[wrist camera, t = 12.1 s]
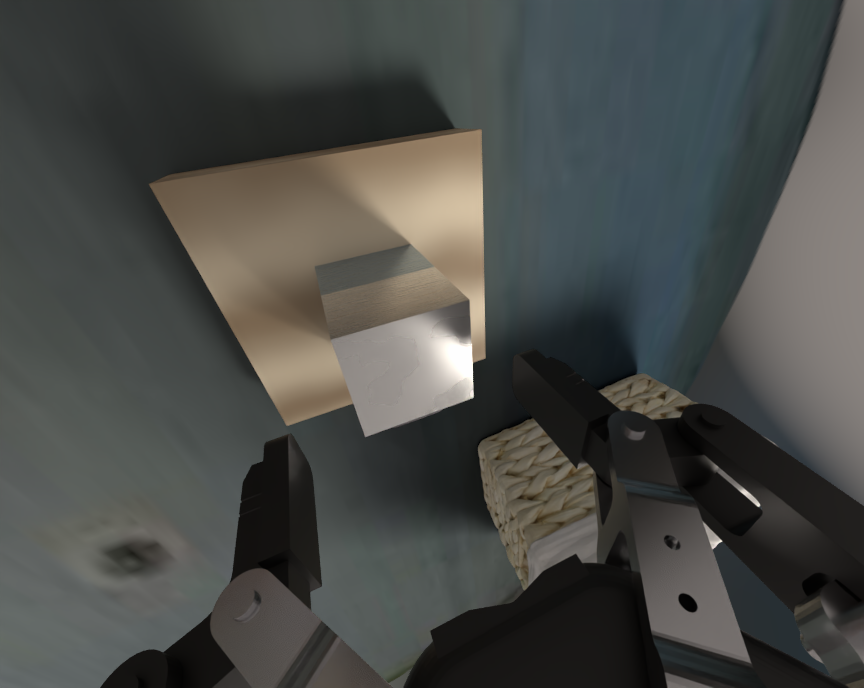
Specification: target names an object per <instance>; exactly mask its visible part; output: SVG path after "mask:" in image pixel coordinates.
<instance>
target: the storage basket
mask: <svg viewBox="0 0 864 688" xmlns="http://www.w3.org/2000/svg"><path fill="white" fill-rule="evenodd" d="M599 392H600V393H601V394H602V395H603V396H605V397H606V398H607V399H608V400H609V401H611V402H612V403H613V404H614V405H615V406H616V407H618V408H619V409H620V410H622V411H623V410H628V411H635V412H638V413H641V414H643V415H645V416H647V417H649V418H650V419H652V420H654V419H666V418H677V417H681V414H682V412H683V410H684V409H685V408H686V407H687V406H689V405H692V404H698V403H696V402H692V401H691V400H689V399H688V398H687V397H685V396H684V395H682V394H680V393H679V392H678V391H676V390H674V389H671V388H669V387H668V386H667V385H665V384H662V383H660V382H658V381H657V380H655V379H653V378H651V377H650V376H648V375H647V374H643V373H641V374H637V375H634V376H631V377H628V378H625V379H623V380H620V381H618V382H616V383H614V384H613V385H609V386H606V387H605V388H604V389H601V390H599ZM763 437H764V436H763ZM764 438H765V437H764ZM766 439H767V438H766ZM767 440H768V439H767ZM769 441H770V440H769ZM770 442H772V441H770ZM772 443H773V442H772ZM773 444H775V443H773ZM775 445H776V444H775ZM777 447H778V446H777ZM478 455H479V458H480V468H481V478H482V481H483V489H484V498H485V501H486V504H487V508H488V510H489V511H490V515H491V517H492V519H493V522H494V524H495V526H496V527H497V528H498V529H499V530H498V531H499V534H500V539H501V541H502V543H503V544H504V545H505V546H506V550H507V556H508V558H509V560H510V562H511V564H512V565H513V567H515V568H516V570H515V571H516V573H517V576H518V578H519V579H520V580H521V584H522V587H523V589H524V591H525V590H526V589H527V588H528V586H529V585H530V584H531V583H532V582H533V581H534V580H535V579H536V578H537V577H538V576H539V575H540V574H541V573H542V571H544V570H546V569H548V568H549V567H551V566H553V565H555V564H557V563H559V562H561V561H563V560H564V559H566V558H568V557H570V556H572V555H574V554H577V556H578V557H579V559H580V560H581V562H582V563H597V540H598V525H597V515H596V505H595V495H594V485H593V469H592V468H591V467H590V466H589V465H586V466H584V467H581V468H579V469H576V468H575V466H574V465H573V464H572V463H571V462H570V461H569V459H568V458H567V457H566V456H565V455H564V454H563V452H562V451H561V450H560V449H559V448H558V447H557V445H556V444H555V443H554V442H553V441H552V440H551V438H550V437H549V436H548V435H547V434H546V433H545V431H544V430H543V429H542V428H541V427H540V426H539V424H538V423H537V422H536V421H535V420H534V419H533V418H532V419H531V420H526V421H524V423H522V424H520V425H517V426H515V427H512V428H510V429H505V430H503V431H502V432H500V433H498V434H495V435H493V436H490V437H488V438H486V439H484V440H482V441H481V442H480V444H479V446H478ZM717 472H718V473H719V474H720V475H721V476H723V477H724V478H725V479H726V480H727V481H728V482H730V483H731V484H732V485H733V486H734V487H735V488H737V489H738V490H739V491H740V492H741V493H742V494H744V495H745V496H746V497H747V498H748V499H750V500H751V501H752V502H753V503H754V504H755V505H757V506H758V507H759V506H760V504H759V502H758V501H757V500H756V499H755V498H754V497H753V496H752V495H751V494H750V493H749V492H748V491H746V490H745V489H744V488H743V487H742V486H740V485H739V484H738V483H737V482H736V481H734V480H733V479H732V478H731V477H730V476H728V475H727V474H726V473H725V472H724V471H723V470H721V469H720V468H719V469H718V471H717ZM703 524H704V527H705V530H706V533H707V536H708V539H709V542H710V544H711V547H712V549H713V548H715V547H716V546H717V544H718V543H719V542H723V541H722V540H721V539H720V538H719V537H718V536H717V535H716V534H715V533H714V532H713V531H712V530H711V529H710V528H709V527H708V526H707V525H706V524H705V523H704V522H703Z"/></svg>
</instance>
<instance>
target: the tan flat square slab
mask: <svg viewBox="0 0 864 688" xmlns="http://www.w3.org/2000/svg"><path fill="white" fill-rule="evenodd" d="M149 185H150V187H151V189H152V191H153V192H154V194H155V196H156V198H157V199H158V201H159V203H160V205H161V206H162V208H163V210H164V212H165V213H166V215H167V217H168V219H169V220H170V222H171V224H172V226H173V227H174V229H175V231H176V233H177V234H178V236H179V238H180V240H181V241H182V243H183V245H184V247H185V248H186V250H187V252H188V254H189V255H190V257H191V259H192V261H193V262H194V264H195V266H196V268H197V269H198V271H199V273H200V275H201V276H202V278H203V280H204V282H205V283H206V285H207V287H208V289H209V290H210V292H211V294H212V296H213V297H214V299H215V301H216V303H217V304H218V306H219V308H220V310H221V311H222V313H223V315H224V317H225V318H226V320H227V322H228V324H229V325H230V327H231V329H232V331H233V332H234V334H235V336H236V338H237V339H238V341H239V343H240V345H241V346H242V348H243V350H244V352H245V353H246V355H247V357H248V359H249V360H250V362H251V364H252V366H253V367H254V369H255V371H256V373H257V374H258V376H259V378H260V380H261V381H262V383H263V385H264V387H265V388H266V390H267V392H268V394H269V395H270V397H271V399H272V401H273V402H274V404H275V406H276V408H277V409H278V411H279V413H280V415H281V416H282V418H283V420H284V422H285V423H286V425H287V426H288V425H291V424H294V423H297V422H300V421H303V420H306V419H309V418H312V417H315V416H318V415H321V414H324V413H327V412H330V411H333V410H335V409H338V408H341V407H344V406H347V405H350V404H353V401H352V398H351V396H350V393H349V390H348V387H347V384H346V381H345V379H344V376H343V373H342V370H341V367H340V365H339V362H338V359H337V356H336V353H335V351H334V348H333V345H332V342H331V339H330V335H329V330H328V326H327V321H326V316H325V312H324V307H323V303H322V298H321V294H320V289H319V284H318V280H317V275H316V271H315V266H318V265H323V264H327V263H331V262H336V261H340V260H344V259H348V258H353V257H357V256H361V255H366V254H370V253H374V252H378V251H383V250H387V249H391V248H396V247H400V246H404V245H408V244H411V245H412V246H413V247H414V248H416V249H417V250H418V251H419V252H420V253H421V254H422V255H423V256H424V257H425V258H426V259H427V260H428V261H429V262H430V263H431V264H432V265H433V266H434V267H436V268H437V269H438V270H439V271H440V272H441V273H442V274H443V275H444V276H445V277H446V278H447V279H448V280H449V281H450V282H451V283H452V284H453V285H454V286H455V287H457V288H458V289H459V290H460V291H461V292H462V293H463V294H464V295H465V296H466V297H467V298H468V299H469V300H470V321H471V344H472V363H474V362H476V361H479V360H482V359H485V301H484V244H483V187H482V131H481V129H449V130H443V131H437V132H431V133H424V134H418V135H412V136H406V137H399V138H393V139H387V140H381V141H374V142H368V143H362V144H356V145H350V146H343V147H337V148H331V149H325V150H318V151H312V152H306V153H300V154H293V155H287V156H281V157H275V158H268V159H262V160H256V161H250V162H244V163H237V164H231V165H225V166H219V167H212V168H206V169H200V170H194V171H187V172H181V173H175V174H170V175H167V176H165V177H163V178H161V179H159V180H157V181H154V182H152V183H150V184H149Z"/></svg>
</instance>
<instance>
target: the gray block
mask: <svg viewBox="0 0 864 688" xmlns="http://www.w3.org/2000/svg"><path fill="white" fill-rule="evenodd" d="M315 271H316V275H317V280H318V284H319V289H320V294H321V298H322V303H323V307H324V312H325V316H326V321H327V326H328V330H329V335H330V339H331V342H332V345H333V348H334V351H335V353H336V356H337V359H338V362H339V365H340V367H341V370H342V373H343V376H344V379H345V381H346V384H347V387H348V390H349V393H350V396H351V398H352V401H353V404H354V407H355V410H356V412H357V415H358V418H359V421H360V424H361V426H362V429H363V432H364V435H365V437H367V436H370V435H373V434H375V433H378V432H381V431H384V430H386V429H389V428H392V427H394V428H397V427H399V426H402V425H405V424H408V423H410V422H413V421H416V420H419V419H421V418H424V417H427V416H430V415H432V414H435V413H438V412H441V409H444V408H447V407H450V406H452V405H455V404H458V403H461V402H463V401H466V400H469V399H472V398H474V391H473V367H472V344H471V321H470V300H469V299H468V298H467V297H466V296H465V295H464V294H463V293H462V292H461V291H460V290H459V289H458V288H457V287H455V286H454V285H453V284H452V283H451V282H450V281H449V280H448V279H447V278H446V277H445V276H444V275H443V274H442V273H441V272H440V271H439V270H438V269H437V268H436V267H434V266H433V265H432V264H431V263H430V262H429V261H428V260H427V259H426V258H425V257H424V256H423V255H422V254H421V253H420V252H419V251H418V250H417V249H416V248H414V247H413V246H412V245H411V244H408V245H404V246H400V247H396V248H391V249H387V250H383V251H378V252H374V253H370V254H366V255H361V256H357V257H353V258H348V259H344V260H340V261H336V262H331V263H327V264H323V265H318V266H315Z"/></svg>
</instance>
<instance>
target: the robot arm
mask: <svg viewBox="0 0 864 688" xmlns="http://www.w3.org/2000/svg"><path fill="white" fill-rule="evenodd" d="M512 388H513V392H514V394H515V396H516V398H517V400H518V401H519V402H520V403H521V405H522V406H523V407H524V408H525V409H526V410H527V412H528V413H529V414H530V415H531V416H532V417H533V419H534V420H535V421H536V422H537V423H538V424H539V426H540V427H541V428H542V429H543V430H544V431H545V433H546V434H547V435H548V436H549V437H550V438H551V440H552V441H553V442H554V443H555V444H556V445H557V447H558V448H559V449H560V450H561V451H562V452H563V454H564V455H565V456H566V457H567V458H568V459H569V461H570V462H571V463H572V464H573V465H574V466H575V468H576V469H579V468H581V467H584V466H586V465H589V466H590V467H591V468H592V469H593V485H594V495H595V505H596V515H597V525H598V540H597V563H582V562H581V560H580V559H579V557H578V556H577V554H574V555H572V556H570V557H568V558H566V559H564V560H563V561H561V562H559V563H557V564H555V565H553V566H551V567H549V568H548V569H546V570H544V571H542V573H541V574H540V575H539V576H538V577H537V578H536V579H535V580H534V581H533V582H532V583H531V584H530V585H529V586H528V588H527V589H526V590H525V591H524V592H523V593H522V594H521V595H520V596H519V597H518V598H517V599H516V600H515V601H514V602H512V603H509V604H503V605H497V606H491V607H485V608H479V609H473V610H469V611H467V612H465V613H463V614H461V615H459V616H457V617H455V618H454V619H452V620H450V621H448V622H446V623H444V624H442V625H440V626H439V627H437V628H435V629H433V630H431V631H430V632H431V635H432V639H433V642H432V643H431V644H430V645H429V646H428V647H427V648H426V649H425V650H424V652H423V653H422V654H421V656H420V657H419V658H418V660H417V661H416V663H415V665H414V667H413V668H412V670H411V672H410V674H409V676H408V678H407V681H406V683H405V685H404V688H864V506H863V505H861V504H860V503H859V502H857V501H856V500H854V499H853V498H851V497H850V496H848V495H847V494H845V493H844V492H843V491H841V490H840V489H838V488H837V487H835V486H834V485H832V484H831V483H830V482H828V481H827V480H825V479H824V478H822V477H821V476H819V475H818V474H816V473H815V472H814V471H812V470H811V469H809V468H808V467H806V466H805V465H803V464H802V463H800V462H799V461H798V460H796V459H795V458H793V457H792V456H790V455H789V454H787V453H786V452H785V451H783V450H781V449H780V448H779V447H777V446H776V445H775V444H773V443H772V442H770V441H769V440H767V439H766V438H764V437H763V436H761V435H760V434H759V433H757V432H756V431H754V430H753V429H751V428H750V427H748V426H747V425H746V424H744V423H743V422H741V421H740V420H738V419H737V418H735V417H734V416H733V415H731V414H729V413H728V412H726V411H724V410H722V409H720V408H718V407H715V406H712V405H707V404H692V405H689V406H687V407H686V408H685V409H684V410H683V412H682V414H681V417H677V418H666V419H654V420H652V419H650V418H649V417H647V416H645V415H643V414H641V413H638V412H635V411H628V410H623V411H622V410H620V409H619V408H618V407H616V406H615V405H614V404H613V403H612V402H611V401H609V400H608V399H607V398H606V397H605V396H603V395H602V394H601V393H600V392H599V391H597V390H596V389H595V388H594V387H593V386H591V385H590V384H589V383H588V382H587V381H586V382H585V381H584V379H583V378H582V377H581V376H580V375H578V374H576V372H575V371H574V370H572V369H571V368H570V367H569V366H568V365H566V364H565V363H563V362H561V361H559V360H556V359H554V358H552V357H550V358H547V359H546V358H545V357H544V356H543V355H542V354H541V353H540V352H538V351H537V350H536V349H531V350H528V351H525V352H522V353H520V354H517V355H515V356H514V357H513V375H512ZM719 468H720V469H721V470H723V471H724V472H725V473H726V474H727V475H728V476H730V477H731V478H732V479H733V480H734V481H736V482H737V483H738V484H739V485H740V486H742V487H743V488H744V489H745V490H746V491H748V492H749V493H750V494H751V495H752V496H753V497H754V498H755V499H756V500H757V501H758V502H759V504H760V505H761V507H762V510H761V509H760V508H759V507H758V506H757V505H755V504H754V503H753V502H752V501H751V500H750V499H748V498H747V497H746V496H745V495H744V494H742V493H741V492H740V491H739V490H738V489H737V488H735V487H734V486H733V485H732V484H731V483H730V482H728V481H727V480H726V479H725V478H724V477H723V476H721V475H720V474H719V473H718V472H717V471H718V469H719ZM241 501H242V503H240V512H239V514H240V517H239V521H238V529H237V538H236V547H235V555H234V564H233V572H232V578H231V581H230V584H229V585H228V586H227V587H226V588H225V589H224V591H223V592H222V593H221V595H220V596H219V598H218V600H217V602H216V604H215V606H214V609H213V611H212V612H211V613H210V614H209V615H208V617H207V618H205V619H204V620H203V621H202V622H201V623H200V624H198V625H197V626H196V627H195V628H193V629H192V630H191V631H190V632H188V633H187V634H186V635H185V636H183V637H182V638H181V639H179V640H178V641H177V642H176V643H174V644H173V645H172V646H171V647H169V648H168V649H167V650H166V651H164V652H161V651H158V650H146V651H142V652H140V653H137V654H136V655H134V656H132V657H130V658H129V659H128V660H126V661H125V662H124V663H122V664H121V665H120V666H119V667H118V668H117V669H116V670H115V671H114V672H113V673H112V674H111V675H110V676H109V677H108V678H107V680H106V681H105V682H104V683H103V685H102V686H101V687H100V688H393V687H391V685H389V684H388V683H387V682H386V681H385V680H384V679H383V678H382V677H381V676H380V675H379V674H378V673H377V672H376V671H375V670H374V669H373V668H371V667H370V666H369V665H368V664H367V663H366V662H365V661H364V660H363V659H362V658H361V657H360V656H359V655H358V654H357V653H356V652H355V651H353V650H352V649H351V648H350V647H349V646H348V645H347V644H346V643H345V642H344V641H343V640H342V639H341V638H340V637H339V636H338V635H336V634H335V633H334V632H333V631H332V630H331V629H330V628H329V627H328V626H327V625H326V624H325V623H324V622H322V621H321V620H320V619H319V618H318V617H317V616H316V615H315V614H314V613H313V612H312V611H311V600H310V592H311V591H313V590H315V589H317V588H319V587H322V580H321V568H320V556H319V544H318V532H317V520H316V508H315V496H314V484H313V476H312V472H311V468H310V465H309V463H308V461H307V459H306V457H305V455H304V454H303V452H302V450H301V449H300V447H299V445H298V443H297V442H296V440H295V438H294V437H293V435H292V434H288V435H285V436H282V437H279V438H276V439H273V440H271V441H268V442H266V443H265V445H264V458H263V461H262V462H260V463H257V464H254V465H252V466H251V468H250V470H249V472H248V474H247V476H246V478H245V479H244V481H243V486H242V494H241ZM703 522H704V523H705V524H706V525H707V526H708V527H709V528H710V529H711V530H712V531H713V532H714V533H715V534H716V535H717V536H718V537H719V538H720V539H721V540H722V541H723V542H724V543H725V544H726V545H727V546H728V547H729V548H730V549H731V550H732V551H733V552H734V553H735V554H736V555H737V556H738V558H739V559H740V560H742V562H743V563H745V565H747V567H748V568H749V569H750V570H751V571H752V572H753V573H754V574H755V575H756V576H757V577H758V578H759V579H760V580H761V581H762V582H764V584H765V585H766V586H767V587H768V588H769V589H770V590H771V591H772V592H773V593H774V594H775V595H776V596H777V597H778V598H779V599H780V600H781V601H782V602H783V603H784V604H785V605H786V606H787V607H788V608H789V609H790V610H791V611H792V612H793V613H794V614H795V620H796V623H797V626H798V628H799V630H800V632H801V635H800V639H801V643H802V645H803V646H804V648H805V649H806V651H807V652H808V653H809V654H810V655H811V656H812V657H814V658H815V659H816V660H818V661H820V662H822V663H824V664H825V666H826V668H827V670H828V672H829V674H830V676H831V677H830V676H828V675H826V674H824V673H822V672H820V671H818V670H816V669H815V668H812V667H811V666H809V665H807V664H805V663H803V662H801V661H799V660H797V659H795V658H793V657H792V656H790V655H788V654H786V653H784V652H782V651H780V650H778V649H776V648H774V647H772V646H770V645H769V644H767V643H765V642H763V641H761V640H759V639H757V638H755V637H753V636H751V635H749V634H748V633H746V632H744V631H742V630H740V629H739V626H738V623H737V620H736V617H735V614H734V611H733V609H732V606H731V603H730V600H729V597H728V594H727V591H726V588H725V585H724V583H723V580H722V577H721V574H720V571H719V568H718V565H717V562H716V559H715V556H714V553H713V551H712V547H711V544H710V542H709V539H708V536H707V533H706V530H705V527H704V524H703Z"/></svg>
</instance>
